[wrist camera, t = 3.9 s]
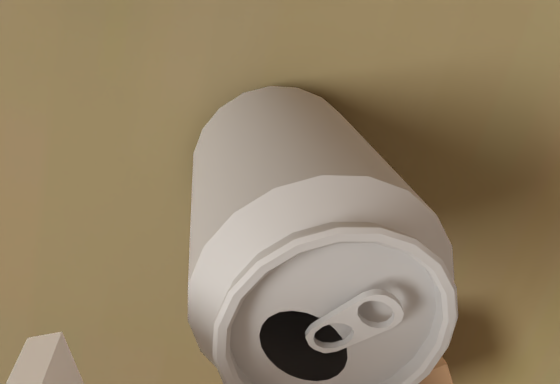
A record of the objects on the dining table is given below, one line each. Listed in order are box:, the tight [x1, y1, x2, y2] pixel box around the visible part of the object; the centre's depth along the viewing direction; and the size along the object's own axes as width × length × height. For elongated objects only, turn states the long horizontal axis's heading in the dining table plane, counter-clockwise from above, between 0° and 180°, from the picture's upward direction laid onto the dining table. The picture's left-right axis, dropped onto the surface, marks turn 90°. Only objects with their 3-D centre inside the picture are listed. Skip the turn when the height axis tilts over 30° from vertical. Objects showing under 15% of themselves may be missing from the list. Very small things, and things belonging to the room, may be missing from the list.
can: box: [188, 86, 458, 384], centre depth 17 cm, size 8×8×12 cm
